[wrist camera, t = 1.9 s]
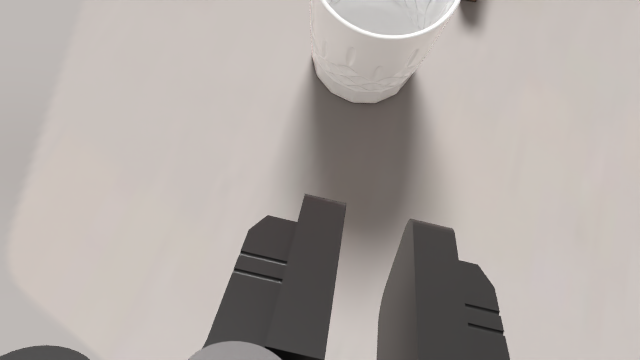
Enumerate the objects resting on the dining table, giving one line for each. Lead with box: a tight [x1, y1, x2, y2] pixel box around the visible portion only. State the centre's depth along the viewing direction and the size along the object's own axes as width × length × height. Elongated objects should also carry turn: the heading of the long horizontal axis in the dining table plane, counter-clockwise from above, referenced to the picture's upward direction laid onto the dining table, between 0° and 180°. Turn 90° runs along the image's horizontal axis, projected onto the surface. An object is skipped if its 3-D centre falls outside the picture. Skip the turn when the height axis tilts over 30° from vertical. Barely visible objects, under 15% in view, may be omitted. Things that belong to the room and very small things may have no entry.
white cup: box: [310, 0, 461, 103], centre depth 35 cm, size 8×8×10 cm
